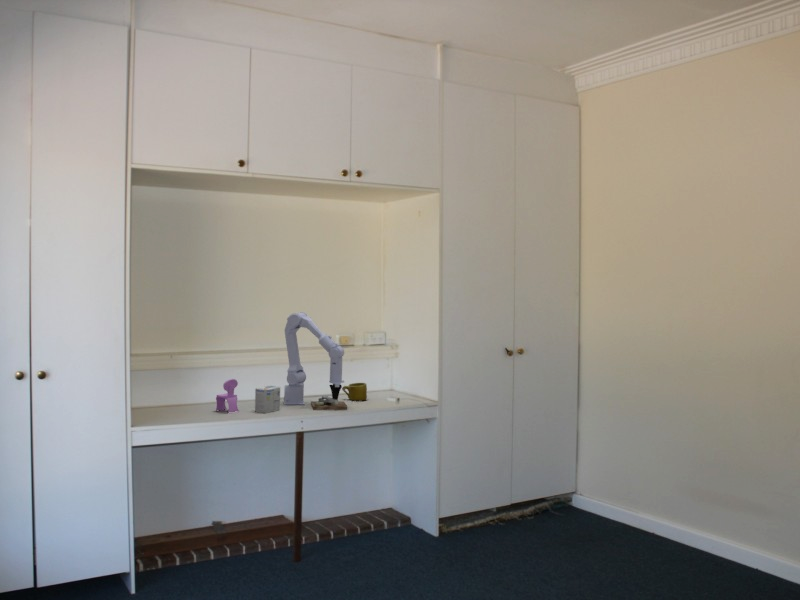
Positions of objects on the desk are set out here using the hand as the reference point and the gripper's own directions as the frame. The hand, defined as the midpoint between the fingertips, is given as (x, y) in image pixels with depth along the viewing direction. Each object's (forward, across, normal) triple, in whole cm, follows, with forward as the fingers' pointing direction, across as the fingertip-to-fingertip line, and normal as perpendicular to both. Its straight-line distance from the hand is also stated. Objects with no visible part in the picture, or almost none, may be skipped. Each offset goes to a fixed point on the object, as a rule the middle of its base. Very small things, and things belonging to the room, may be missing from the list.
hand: (335, 399), depth 361 cm
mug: (+4, +20, -12) cm, 23 cm away
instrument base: (+3, 0, +3) cm, 4 cm away
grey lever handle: (+2, -3, +3) cm, 5 cm away
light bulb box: (+4, -8, +32) cm, 33 cm away
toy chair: (+4, -10, +50) cm, 51 cm away
